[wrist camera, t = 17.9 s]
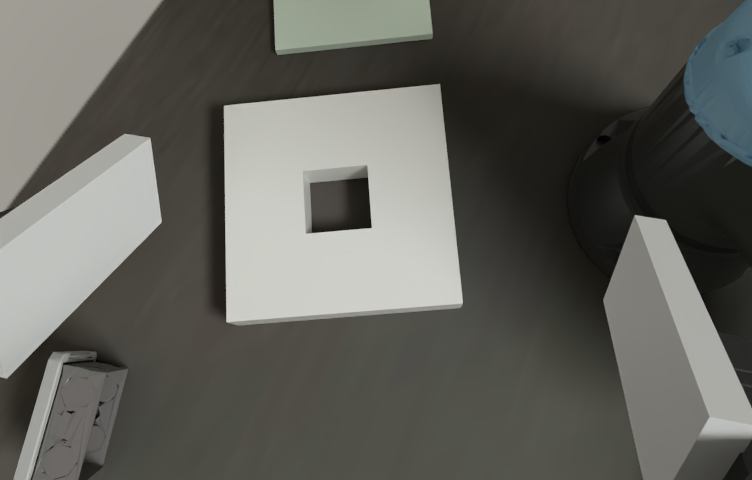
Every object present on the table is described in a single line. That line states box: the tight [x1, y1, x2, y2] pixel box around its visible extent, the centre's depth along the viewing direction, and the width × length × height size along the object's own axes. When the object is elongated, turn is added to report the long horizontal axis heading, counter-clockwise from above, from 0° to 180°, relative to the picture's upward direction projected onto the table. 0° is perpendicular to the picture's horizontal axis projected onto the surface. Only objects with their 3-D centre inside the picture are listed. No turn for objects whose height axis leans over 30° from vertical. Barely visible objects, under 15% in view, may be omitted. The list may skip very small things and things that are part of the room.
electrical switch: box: [14, 351, 128, 480], centre depth 43 cm, size 9×5×9 cm, turn 170°
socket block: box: [224, 84, 463, 325], centre depth 48 cm, size 18×18×3 cm
